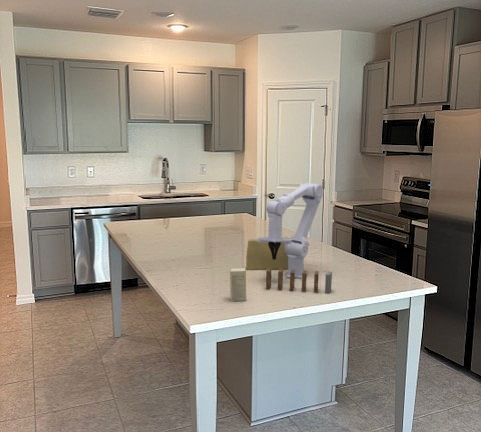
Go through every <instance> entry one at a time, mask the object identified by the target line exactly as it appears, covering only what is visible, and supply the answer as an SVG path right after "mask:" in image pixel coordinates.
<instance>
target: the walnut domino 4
mask: <svg viewBox="0 0 481 432" xmlns="http://www.w3.org/2000/svg"><path fill="white" fill-rule="evenodd" d="M307 272H308V271H307V269H306V270H305V269H303V272H302V278H301V293H306V291H307V275H308V273H307Z"/></svg>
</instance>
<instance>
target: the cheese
mask: <svg viewBox="0 0 481 432" xmlns="http://www.w3.org/2000/svg"><path fill="white" fill-rule="evenodd" d="M282 238H286V239H289V238H290V237H287V236H282ZM285 245H286V244H284V243H281V245H280V247H279V249H278V252H277V255H276V260H273V259H272V253H271V250H270V248H269V246H268V243H266V242H258V238H250V239H248V240H247V248H246V249H247V250H246V257H245V258H246V259H245V260H246V261H245V263H246V264H245V266H246V267H245V269H246V271H247V270H248V271H264V270H265V271H267V269H268V268H271V271H272V270H279V269H283V270H288V256H287V254H286V253H285ZM274 253H275V249H274Z"/></svg>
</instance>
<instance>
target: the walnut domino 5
mask: <svg viewBox="0 0 481 432" xmlns="http://www.w3.org/2000/svg"><path fill="white" fill-rule="evenodd" d="M313 274H314V277H313V278H314V279H313V294H314V293H315V294H318V293H319V277H320V276H319V274H320V272H319V270H314V273H313Z"/></svg>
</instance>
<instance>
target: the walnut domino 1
mask: <svg viewBox="0 0 481 432" xmlns="http://www.w3.org/2000/svg"><path fill="white" fill-rule="evenodd" d="M271 288H272V270H271V268H268V269H267V270H265V290H266V291H267V290H268V291H270V290H271Z"/></svg>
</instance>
